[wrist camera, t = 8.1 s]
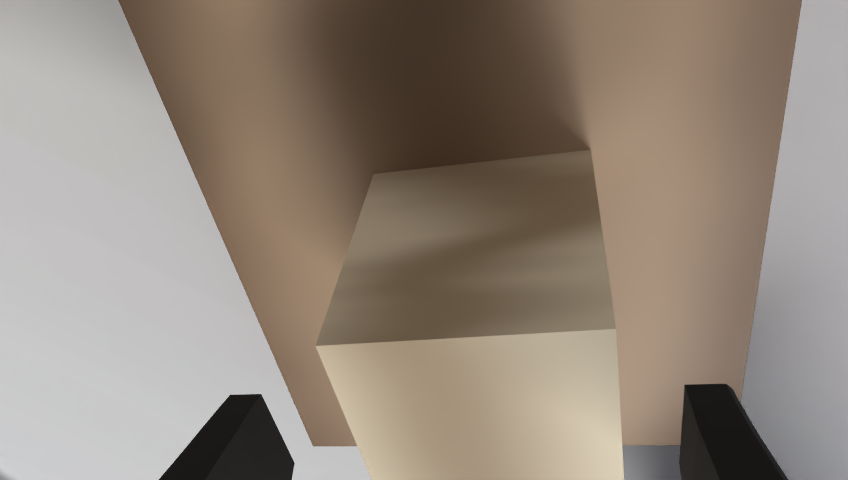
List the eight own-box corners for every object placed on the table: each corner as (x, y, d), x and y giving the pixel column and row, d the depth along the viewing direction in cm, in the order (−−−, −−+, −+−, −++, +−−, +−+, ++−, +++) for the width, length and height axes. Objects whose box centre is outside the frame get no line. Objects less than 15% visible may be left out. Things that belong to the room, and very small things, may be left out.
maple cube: (590, 150, 13) (616, 328, 10) (602, 314, 16) (625, 508, 12) (373, 174, 14) (315, 345, 11) (417, 326, 17) (383, 509, 13)
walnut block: (766, -162, 12) (821, -133, 10) (710, 361, 21) (733, 445, 18) (175, -62, 15) (109, -19, 13) (335, 371, 23) (313, 446, 21)
